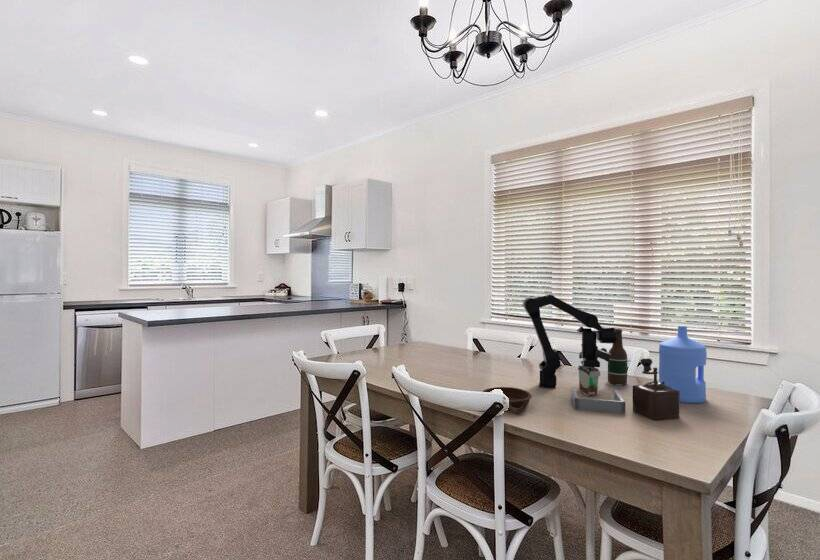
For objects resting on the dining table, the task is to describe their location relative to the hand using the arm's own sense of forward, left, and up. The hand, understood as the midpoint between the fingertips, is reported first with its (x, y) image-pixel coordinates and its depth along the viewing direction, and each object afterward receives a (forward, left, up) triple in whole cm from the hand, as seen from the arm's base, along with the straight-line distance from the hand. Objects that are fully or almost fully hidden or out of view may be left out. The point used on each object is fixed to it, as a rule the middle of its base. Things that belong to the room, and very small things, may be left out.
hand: (588, 379), depth 178 cm
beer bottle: (+13, +11, -4) cm, 18 cm away
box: (0, -24, -4) cm, 24 cm away
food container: (0, -9, -4) cm, 10 cm away
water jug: (+33, -6, -4) cm, 34 cm away
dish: (-32, -35, -4) cm, 47 cm away
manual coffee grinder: (+17, -28, -4) cm, 33 cm away
